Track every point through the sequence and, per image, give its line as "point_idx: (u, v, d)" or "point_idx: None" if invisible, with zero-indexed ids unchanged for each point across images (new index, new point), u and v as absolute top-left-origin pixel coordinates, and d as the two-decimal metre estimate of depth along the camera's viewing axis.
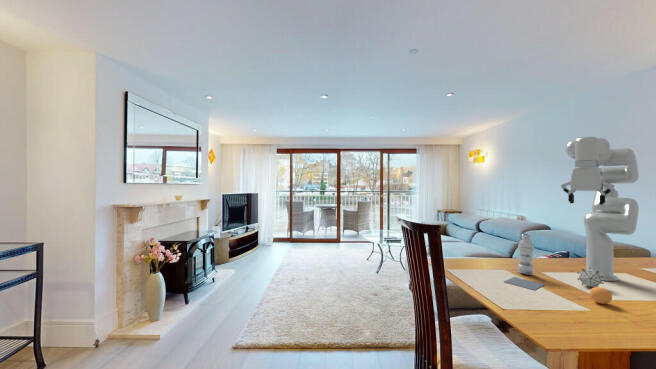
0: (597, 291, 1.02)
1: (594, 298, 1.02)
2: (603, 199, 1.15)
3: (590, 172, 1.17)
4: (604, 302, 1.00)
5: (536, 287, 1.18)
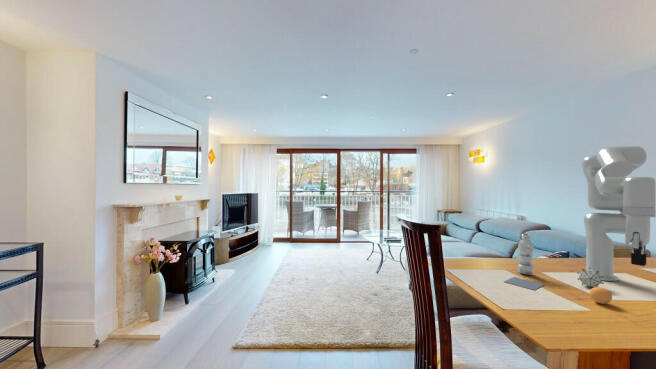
0: (597, 291, 1.02)
1: (594, 298, 1.02)
2: None
3: None
4: (604, 302, 1.00)
5: (536, 287, 1.18)
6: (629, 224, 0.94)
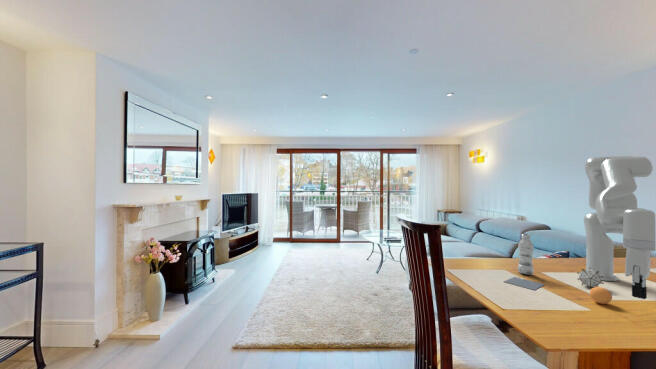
0: (597, 291, 1.02)
1: (594, 298, 1.02)
2: None
3: (650, 255, 0.94)
4: (604, 302, 1.00)
5: (536, 287, 1.18)
6: (629, 257, 0.93)
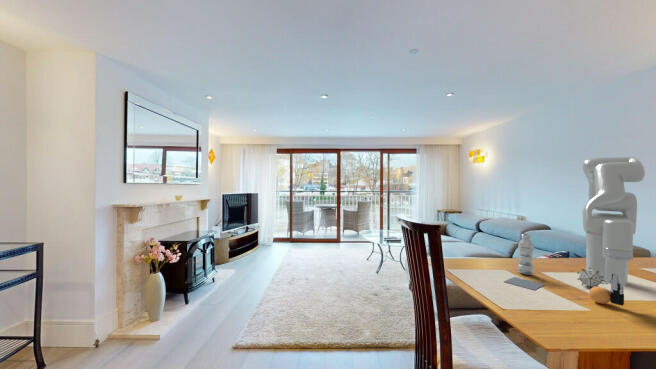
0: (596, 291, 1.02)
1: (593, 298, 1.02)
2: None
3: (627, 263, 0.98)
4: (603, 302, 1.01)
5: (536, 287, 1.18)
6: (608, 266, 0.98)
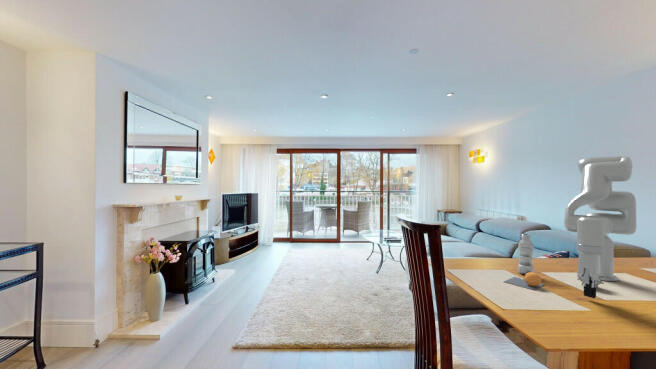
0: (526, 276, 1.20)
1: (529, 284, 1.19)
2: None
3: (599, 258, 1.04)
4: (536, 283, 1.17)
5: (536, 287, 1.18)
6: (581, 261, 1.04)
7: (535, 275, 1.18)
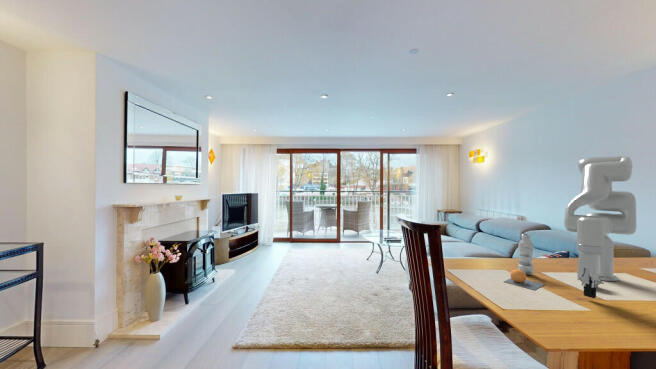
0: (514, 280, 1.23)
1: (521, 278, 1.21)
2: None
3: (599, 258, 1.04)
4: (517, 272, 1.23)
5: (536, 287, 1.18)
6: (581, 261, 1.04)
7: None
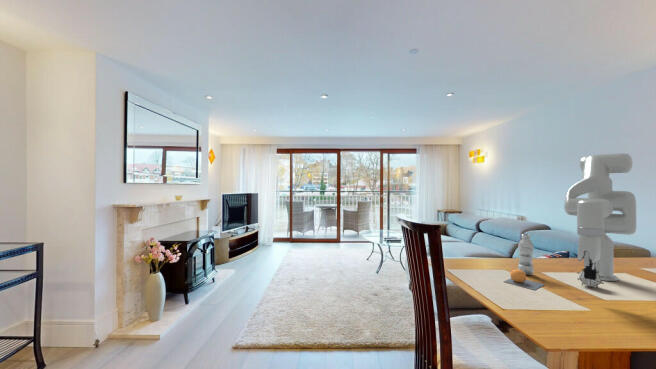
0: (514, 280, 1.23)
1: (521, 278, 1.21)
2: None
3: (600, 240, 1.04)
4: (517, 272, 1.23)
5: (536, 287, 1.18)
6: (581, 243, 1.04)
7: None
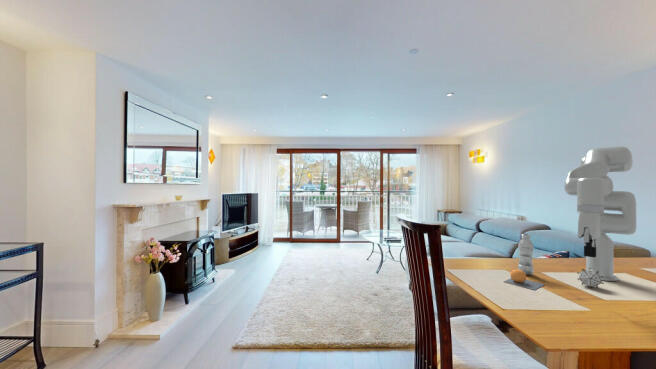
0: (514, 280, 1.23)
1: (521, 278, 1.21)
2: None
3: (600, 218, 1.04)
4: (517, 272, 1.23)
5: (536, 287, 1.18)
6: (581, 220, 1.04)
7: None
